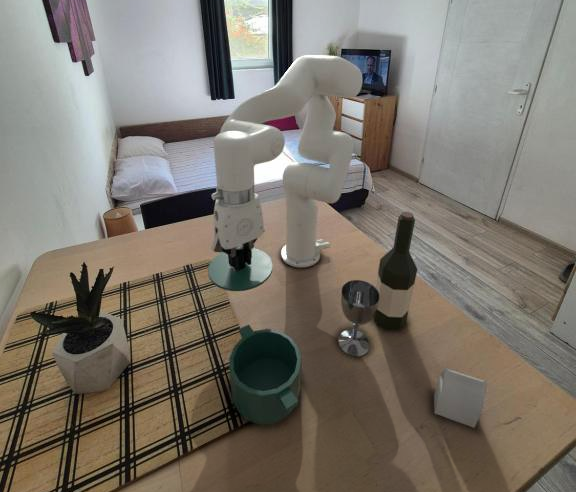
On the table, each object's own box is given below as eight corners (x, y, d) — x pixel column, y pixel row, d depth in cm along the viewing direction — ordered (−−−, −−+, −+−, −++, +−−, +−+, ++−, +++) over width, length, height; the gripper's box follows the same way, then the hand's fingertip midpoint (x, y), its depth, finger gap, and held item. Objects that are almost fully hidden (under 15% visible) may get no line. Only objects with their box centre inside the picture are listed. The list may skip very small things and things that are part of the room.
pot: (271, 337, 76) (271, 310, 73) (321, 410, 62) (324, 381, 58) (216, 367, 70) (213, 338, 66) (258, 456, 55) (256, 426, 51)
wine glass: (373, 333, 78) (381, 284, 71) (369, 362, 71) (377, 311, 65) (340, 324, 80) (345, 276, 74) (333, 351, 73) (338, 301, 67)
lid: (254, 244, 84) (253, 222, 81) (284, 277, 73) (284, 252, 70) (199, 263, 76) (196, 240, 74) (223, 303, 65) (221, 277, 63)
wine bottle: (407, 310, 84) (429, 210, 72) (403, 335, 77) (426, 228, 65) (375, 300, 87) (390, 202, 75) (368, 323, 80) (384, 219, 68)
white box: (474, 427, 59) (488, 392, 55) (434, 413, 61) (445, 378, 57) (472, 407, 62) (485, 373, 58) (434, 394, 64) (444, 360, 60)
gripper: (207, 211, 59) (215, 289, 67) (278, 188, 68) (278, 259, 76) (191, 196, 65) (200, 269, 72) (259, 176, 74) (261, 244, 81)
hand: (240, 263), depth 74 cm, fingers closed on lid, 2 cm apart
